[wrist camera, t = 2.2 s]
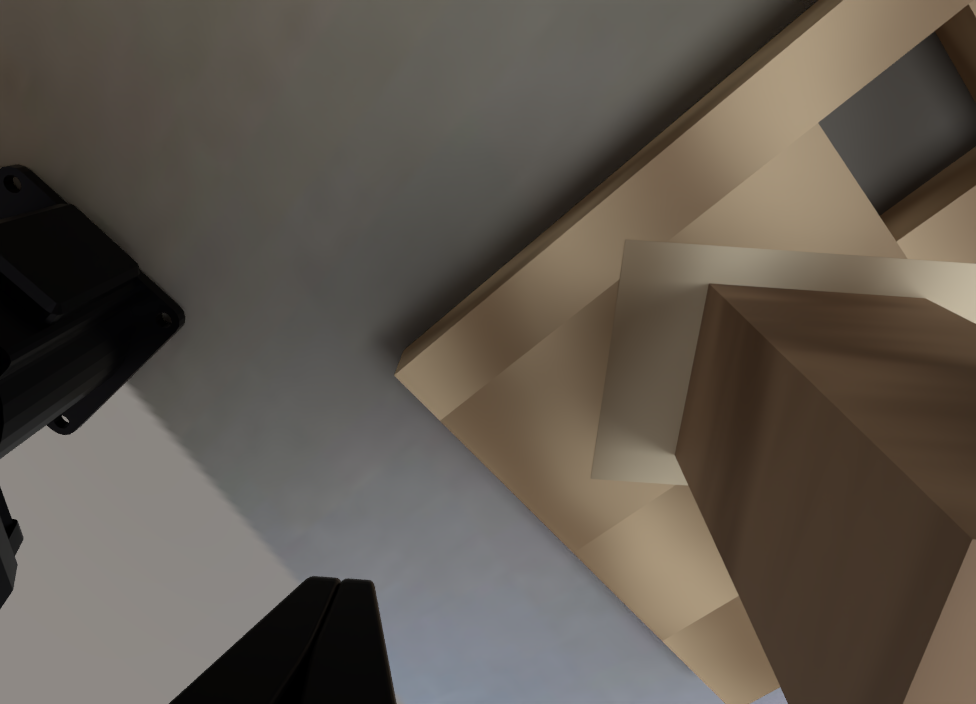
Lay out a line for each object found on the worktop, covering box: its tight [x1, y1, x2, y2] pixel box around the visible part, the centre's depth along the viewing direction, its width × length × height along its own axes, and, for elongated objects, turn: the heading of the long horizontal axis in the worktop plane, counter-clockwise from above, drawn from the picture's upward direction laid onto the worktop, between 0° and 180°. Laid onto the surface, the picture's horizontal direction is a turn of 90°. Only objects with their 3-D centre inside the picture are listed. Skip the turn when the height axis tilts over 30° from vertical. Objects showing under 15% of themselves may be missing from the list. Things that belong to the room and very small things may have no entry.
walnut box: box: [675, 283, 976, 704], centre depth 14 cm, size 6×6×11 cm
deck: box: [394, 0, 976, 704], centre depth 20 cm, size 18×18×2 cm
